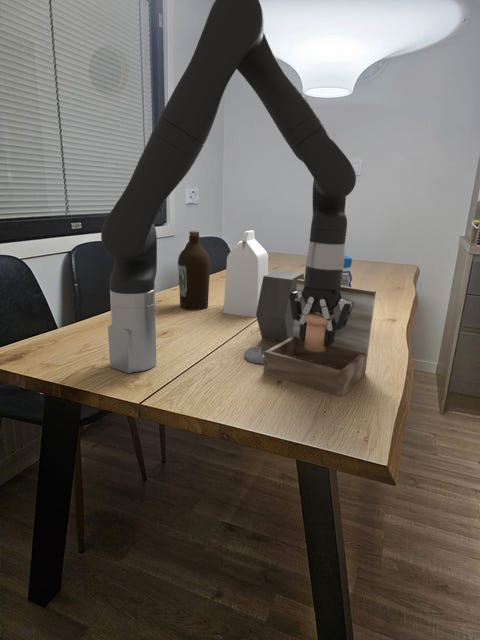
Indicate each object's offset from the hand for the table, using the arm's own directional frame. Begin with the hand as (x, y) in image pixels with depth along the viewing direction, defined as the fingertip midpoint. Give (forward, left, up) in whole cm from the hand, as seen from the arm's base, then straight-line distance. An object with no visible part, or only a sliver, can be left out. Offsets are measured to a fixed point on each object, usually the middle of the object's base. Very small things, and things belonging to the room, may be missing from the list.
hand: (315, 342), depth 91 cm
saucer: (+1, +14, -7) cm, 16 cm away
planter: (+17, +18, -7) cm, 26 cm away
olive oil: (+25, +56, -7) cm, 62 cm away
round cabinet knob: (0, 0, -1) cm, 1 cm away
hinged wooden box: (0, 0, -7) cm, 7 cm away
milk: (+33, +40, -7) cm, 52 cm away
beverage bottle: (+43, +13, -7) cm, 46 cm away
